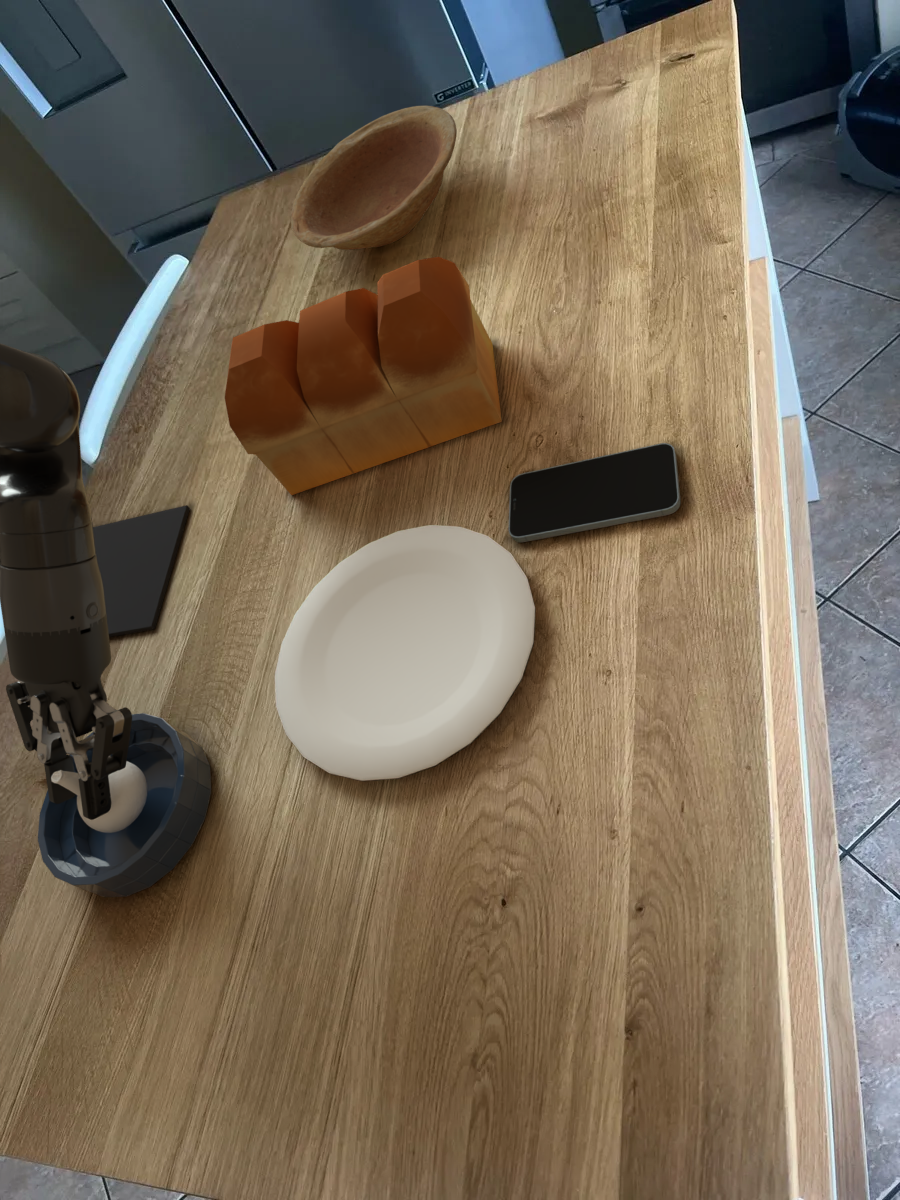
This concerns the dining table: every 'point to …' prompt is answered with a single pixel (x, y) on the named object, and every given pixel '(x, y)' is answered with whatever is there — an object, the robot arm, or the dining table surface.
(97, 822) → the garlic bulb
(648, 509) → the smartphone
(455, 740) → the plate
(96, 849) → the glazed bowl
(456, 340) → the bread
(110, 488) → the dining table surface
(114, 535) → the mat
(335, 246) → the bowl
